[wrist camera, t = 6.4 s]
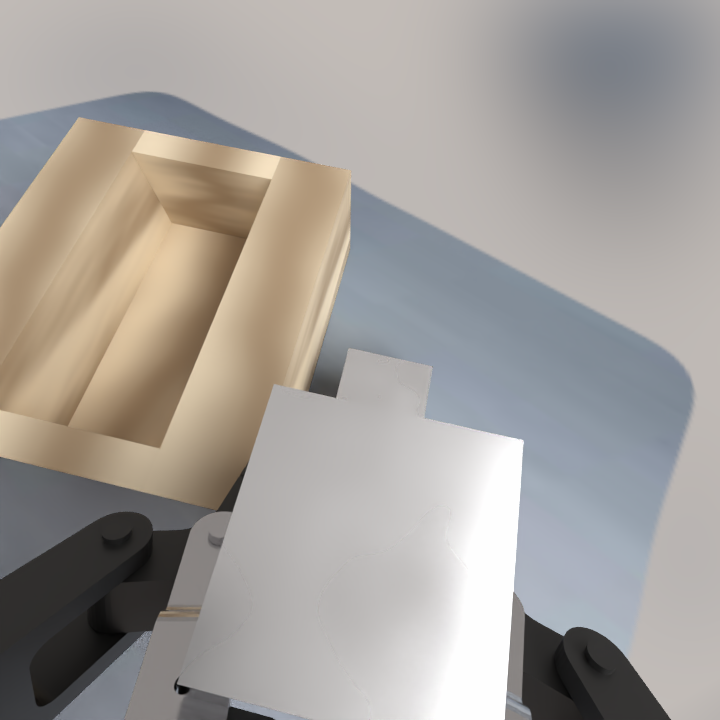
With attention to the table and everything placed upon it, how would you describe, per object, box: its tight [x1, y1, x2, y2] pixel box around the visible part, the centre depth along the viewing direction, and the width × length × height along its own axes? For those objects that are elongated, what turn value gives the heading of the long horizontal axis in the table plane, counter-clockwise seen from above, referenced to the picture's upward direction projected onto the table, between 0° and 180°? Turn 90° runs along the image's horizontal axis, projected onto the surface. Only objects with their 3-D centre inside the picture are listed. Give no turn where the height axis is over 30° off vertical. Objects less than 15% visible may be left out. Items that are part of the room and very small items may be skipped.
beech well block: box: [0, 118, 351, 510], centre depth 20 cm, size 14×16×6 cm
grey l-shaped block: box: [177, 348, 523, 720], centre depth 13 cm, size 4×10×13 cm, turn 168°
